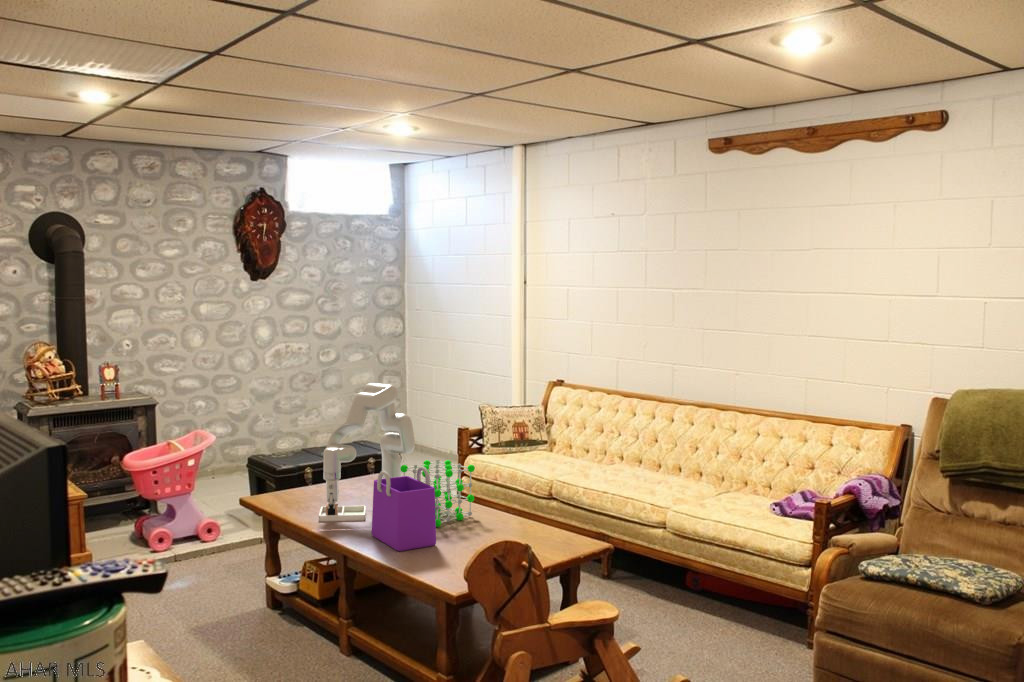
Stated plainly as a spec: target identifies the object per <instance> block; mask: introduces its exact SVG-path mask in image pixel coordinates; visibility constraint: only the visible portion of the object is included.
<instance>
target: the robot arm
mask: <svg viewBox="0 0 1024 682" xmlns="http://www.w3.org/2000/svg"><path fill="white" fill-rule="evenodd" d="M398 392H399V391H398V388H397V387H396V386H395V385H393V384H387V383H386V384H385V383H378V382H377V383H376V382H369V383H366V384H365V385H364V387H363V392H358V393H356V394H355V395H354V396H353V398H352V402H351V405H350V407H349V410H348V412H347V415H346V418H345V420H344V422H342V423H341V424H340V425H339V426H338V427H337V428H336V429H334V430H333V432H332V433H331V434H330V436H329V438H328V441H327V444H326V447H325V449H324V450H323V473H322V474H323V476H322V477H323V478H322V479H323V480H324V481H325V482H326V483H325V493H326V502H327V504H328V515H335V504H337V503H338V502H339V499H340V498H339V497H340V494H339V493H340V492H339V487H340V486H339V485H340V484H339V480H341V477H342V476H341V474H342V473H341V471H342V470H341V469H342V465H341V464H342V463H350V462H352V461H354V460H355V459H356V457H357V449H356V448H355V447H354V446H353V445H348V444H342V443H341V442H342V440H343V439H344V438H345V437H347V436H348V435H351V433H354V432H356V431H359V430H361V429H363V427H364V426H365V425H364V424H365V422H366V419H367V415H368V414H369V412H375V413H376V412H377V413H378V414H377V415H378V419H379V420H378V421H379V425H380V428H381V430H382V431H385V433H383V434H381V435H382V436H381V437H380V442H379V444H380V450H381V471H386V472H387V473H388V474H389V477H390V478H393V477H402V473H403V472H402V471H401V469H400V468H401V466H402V465H403V464H402V457H401V455H400V454H403V455H410V454H412V453H413V452H414V450H415V445H416V440H415V434H414V433H415V432H414V427H413V421H412V418H411V417H410V416H409V415H408V414H406V413H401V412H400V413H399V412H397V409H396V404H395V401H396V400H397V397H398V396H399V395H398V394H399V393H398ZM382 479H385V476H384V475H383V476H382Z"/></svg>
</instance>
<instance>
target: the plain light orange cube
mask: <svg viewBox="0 0 1024 682" xmlns="http://www.w3.org/2000/svg"><path fill="white" fill-rule="evenodd" d="M325 506H326V515H328V503H326V505H325ZM338 506H339V503H336V504H335V515H338Z"/></svg>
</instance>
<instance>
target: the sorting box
mask: <svg viewBox="0 0 1024 682" xmlns="http://www.w3.org/2000/svg"><path fill="white" fill-rule="evenodd" d="M366 508H367V506H366V505H338V515H326V505H325V506H321V507H320V509H319V512H318V513H319V514H318V522H345V521H346V522H348V521H349V522H350V521H352V522H353V521H356V522H357V521H358V522H359V521H366V516H367V515H366V511H367V509H366Z"/></svg>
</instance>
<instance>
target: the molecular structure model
mask: <svg viewBox="0 0 1024 682" xmlns="http://www.w3.org/2000/svg"><path fill="white" fill-rule="evenodd" d="M421 466H423V467H425V468H426V469H427V470H428V472H429V475H430V476H432V477H434V478H430V486H432V485H433V486H432V487H434V488H435V516H436V528H440V527H441V525H442V524H443V523H445V522H447V523H450V522H451V521H452V520H455V519H456V520H457V521H459V520H460V521H462V520H463V519H464V517H467V516H468V517H469V516H472V515H473V512H472V503H473V502H474V501H475V496H474V495H473V494H472V487H473V483H472V473H473V472H475V469H476V468H475V467H476V466H475V465H474V464H469V465H467V466H464V465H462V464H461V463H458V464H455V463H452V461H451V460H449V459H446V460H445V461H440V459H438V458H437V459H436V460H435V461H433V462H431V461H430V460H428V459H426V460H424V461H423V462H422V464H417V463H415V464H413V466H408V465H406V464H402V466H401V468H400V469H401V471H402V473H403V476H406V473H407V472H408V471H411V472H412V473H413V478H414V479H416V480H417V470H418V468H419V467H421ZM455 468H457V469H455ZM461 468H464V469H461ZM466 471H467V472H469V483H466V482H465V483H464V482H463V481H464V480H462V478H461V476H462V475H461V474H462V472H466ZM433 473H435V474H433ZM421 474H422V477H424V480H422V481H421V482H423V483H425V484H426V476H425V473H424V471H423V470H422V471H421ZM453 474H457V475H458V477H457V479H455V480H452V479H451V477H453ZM444 476H445V477H446V478H443V477H444ZM443 482H446V483H443ZM450 482H452V483H450ZM441 485H442V486H441ZM450 487H451V488H450ZM452 487H453V488H452ZM467 487H468V488H469V494H468V495H467V496H463V495H462V494H461V493H462V491H463V490H464V489H465V488H467ZM444 488H446V489H444ZM454 490H455V491H457V494H454V493H452V491H454ZM455 498H457V500H455ZM461 498H463V499H461ZM443 501H445V502H443ZM465 501H466V502H469V511H468V512H465V511H463V508H462V507H461V504H462V503H463V502H465ZM453 504H458V505H457V507H456V508H455V509H453V508H452V507H453ZM445 510H446V512H443V511H445ZM450 511H452V512H450ZM440 514H442V515H440ZM446 516H447V517H446ZM443 517H446V518H443ZM441 520H442V521H441Z"/></svg>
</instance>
